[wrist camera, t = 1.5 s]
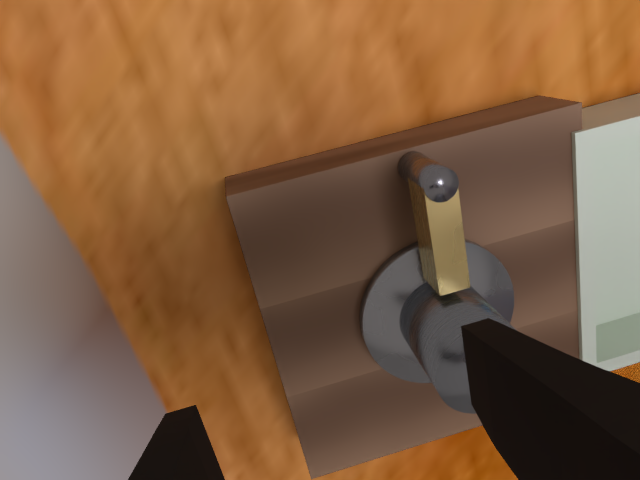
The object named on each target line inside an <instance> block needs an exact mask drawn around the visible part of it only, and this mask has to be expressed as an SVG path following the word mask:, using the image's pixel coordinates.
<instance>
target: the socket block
mask: <svg viewBox="0 0 640 480" xmlns="http://www.w3.org/2000/svg"><path fill="white" fill-rule="evenodd" d="M578 130H582V103H581V102H575V101H569V100H563V99H557V98H551V97H545V96H536V97H532V98H528V99H524V100H520V101H516V102H513V103H509V104H505V105H501V106H497V107H494V108H490V109H486V110H482V111H478V112H474V113H471V114H467V115H463V116H459V117H455V118H451V119H448V120H444V121H440V122H436V123H432V124H428V125H425V126H421V127H417V128H413V129H409V130H405V131H402V132H398V133H394V134H390V135H386V136H382V137H379V138H375V139H371V140H367V141H363V142H359V143H356V144H352V145H348V146H344V147H340V148H336V149H333V150H329V151H325V152H321V153H317V154H313V155H310V156H306V157H302V158H298V159H294V160H290V161H287V162H283V163H279V164H275V165H271V166H267V167H264V168H260V169H256V170H252V171H248V172H245V173H241V174H237V175H233V176H229V177H225V188H226V199H227V202H228V205H229V209H230V212H231V215H232V218H233V222H234V225H235V228H236V232H237V235H238V238H239V242H240V245H241V248H242V251H243V255H244V258H245V261H246V265H247V268H248V271H249V275H250V278H251V281H252V285H253V288H254V291H255V294H256V298H257V301H258V304H259V308H260V311H261V314H262V318H263V321H264V324H265V327H266V331H267V334H268V337H269V341H270V344H271V347H272V351H273V354H274V357H275V360H276V364H277V367H278V370H279V374H280V377H281V380H282V384H283V387H284V390H285V393H286V397H287V400H288V403H289V407H290V410H291V413H292V417H293V420H294V423H295V426H296V430H297V433H298V436H299V440H300V443H301V446H302V450H303V453H304V456H305V459H306V463H307V466H308V469H309V473H310V476H311V479H313V478H317V477H320V476H323V475H326V474H329V473H332V472H336V471H339V470H342V469H345V468H348V467H351V466H355V465H358V464H361V463H364V462H367V461H371V460H374V459H377V458H380V457H383V456H386V455H390V454H393V453H396V452H399V451H402V450H405V449H409V448H412V447H415V446H418V445H421V444H425V443H428V442H431V441H434V440H437V439H440V438H444V437H447V436H450V435H453V434H456V433H459V432H463V431H466V430H469V429H472V428H475V427H479V426H482V423H481V421H480V419H479V417H478V416H477V414H470V413H463V412H459V411H457V410H454V409H452V408H451V407H449V406H448V405H447V404H446V403H445V402H444V401H443V400H442V398H441V397H440V395H439V394H438V392H437V390H436V389H435V387H434V385H433V384H432V383H416V382H410V381H406V380H403V379H400V378H397V377H395V376H393V375H391V374H390V373H388V372H387V371H385V370H384V369H383V368H382V367H381V366H380V365H379V364H378V363H377V362H376V361H375V360H374V358H373V357H372V355H371V354H370V352H369V350H368V348H367V346H366V343H365V341H364V339H363V336H362V333H361V328H360V307H361V302H362V298H363V295H364V292H365V290H366V288H367V285H368V284H369V282H370V280H371V279H372V277H373V275H374V274H375V273H376V271H377V270H378V269H379V268H380V267H381V266H382V265H383V264H384V262H385V261H386V260H388V259H389V258H390V257H391V256H392V255H394V254H395V253H396V252H398V251H400V250H401V249H403V248H404V247H406V246H408V245H411V244H413V243H415V242H418V240H417V233H416V227H415V221H414V215H413V209H412V202H411V196H410V190H409V184H408V182H406V181H405V180H404V179H402V178H401V176H400V175H399V172H398V165H399V162H400V160H401V158H402V157H403V156H404V155H405V154H407V153H409V152H412V151H416V152H420V153H422V154H424V155H425V156H427V157H429V158H431V159H433V160H435V161H436V162H438V163H440V164H442V165H444V166H445V167H447V168H449V169H451V170H453V171H454V172H455V173H456V175H457V176H458V180H459V186H458V190H459V198H460V206H461V215H462V223H463V231H464V239H467V240H470V241H473V242H475V243H477V244H479V245H481V246H482V247H483V248H485V249H486V250H488V251H489V252H490V253H491V254H493V255H494V256H495V257H496V258H497V259H498V260H499V261H500V262H501V263H502V264H503V266H504V267H505V269H506V270H507V272H508V274H509V276H510V279H511V282H512V285H513V290H514V309H513V315H512V319H511V322H510V324H511V325H512V326H513V327H514V328H515V329H516V330H517V331H519V332H521V333H523V334H525V335H527V336H529V337H531V338H534V339H536V340H538V341H540V342H542V343H544V344H546V345H549V346H551V347H553V348H555V349H557V350H560V351H562V352H564V353H566V354H569V355H571V356H573V357H575V358H578V359H580V357H579V329H578V301H577V273H576V245H575V217H574V189H573V161H572V133H571V132H575V131H578Z"/></svg>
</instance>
